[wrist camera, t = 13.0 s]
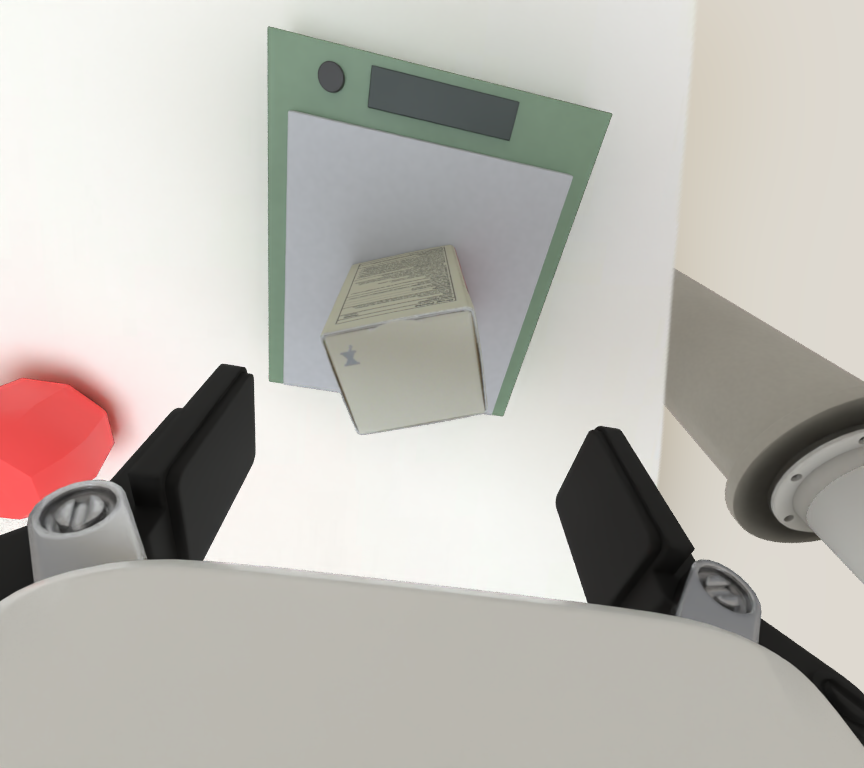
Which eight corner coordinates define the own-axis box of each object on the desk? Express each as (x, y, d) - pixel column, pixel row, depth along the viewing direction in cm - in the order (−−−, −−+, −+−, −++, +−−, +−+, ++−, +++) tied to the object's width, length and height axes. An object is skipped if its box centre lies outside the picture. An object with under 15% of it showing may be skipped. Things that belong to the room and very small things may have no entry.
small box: (373, 342, 22) (354, 440, 15) (349, 262, 20) (314, 336, 13) (469, 325, 22) (491, 417, 15) (455, 240, 19) (475, 306, 13)
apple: (-7, 426, 29) (-136, 520, 22) (8, 338, 26) (-138, 419, 19) (117, 472, 32) (35, 569, 25) (146, 398, 28) (60, 487, 21)
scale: (588, 113, 20) (620, 113, 17) (495, 389, 28) (505, 424, 25) (287, 37, 18) (260, 21, 15) (282, 356, 27) (264, 389, 23)
